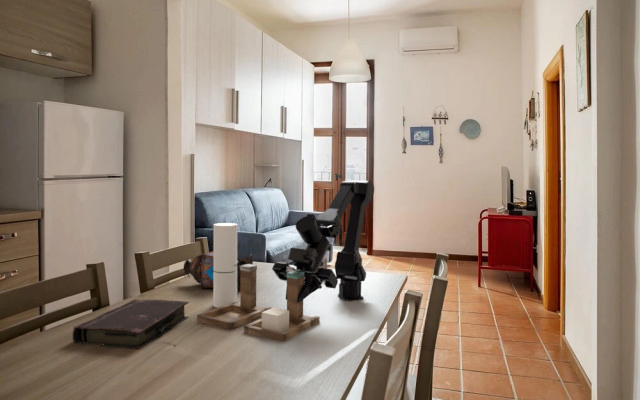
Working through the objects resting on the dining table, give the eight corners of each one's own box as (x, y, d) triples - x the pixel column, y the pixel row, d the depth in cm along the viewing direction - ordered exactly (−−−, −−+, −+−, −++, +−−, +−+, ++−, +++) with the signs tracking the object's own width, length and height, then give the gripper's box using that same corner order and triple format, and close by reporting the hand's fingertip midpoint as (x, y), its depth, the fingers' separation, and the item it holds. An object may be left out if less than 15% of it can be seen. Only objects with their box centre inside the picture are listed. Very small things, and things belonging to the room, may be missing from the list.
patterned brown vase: (248, 305, 170) (184, 296, 175) (260, 265, 179) (199, 258, 184) (237, 284, 157) (167, 275, 162) (250, 242, 166) (184, 235, 171)
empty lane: (238, 308, 144) (239, 261, 143) (271, 315, 138) (271, 266, 137) (197, 324, 129) (197, 271, 128) (231, 332, 123) (231, 277, 122)
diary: (71, 345, 115) (71, 325, 114) (132, 315, 139) (132, 297, 139) (142, 351, 111) (141, 330, 111) (192, 319, 135) (191, 301, 135)
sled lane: (282, 317, 136) (283, 267, 135) (319, 325, 130) (320, 273, 129) (243, 335, 121) (244, 279, 120) (283, 344, 115) (283, 286, 114)
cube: (273, 326, 126) (273, 307, 125) (289, 329, 123) (289, 310, 123) (261, 331, 121) (261, 312, 121) (277, 335, 119) (277, 315, 118)
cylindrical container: (241, 303, 150) (241, 223, 148) (229, 309, 143) (229, 226, 142) (221, 300, 152) (221, 222, 151) (208, 306, 146) (208, 225, 144)
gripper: (276, 233, 137) (251, 279, 128) (333, 239, 127) (311, 289, 118) (291, 256, 144) (268, 301, 135) (346, 264, 134) (326, 312, 126)
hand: (292, 300), depth 128 cm, fingers closed on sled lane, 3 cm apart
